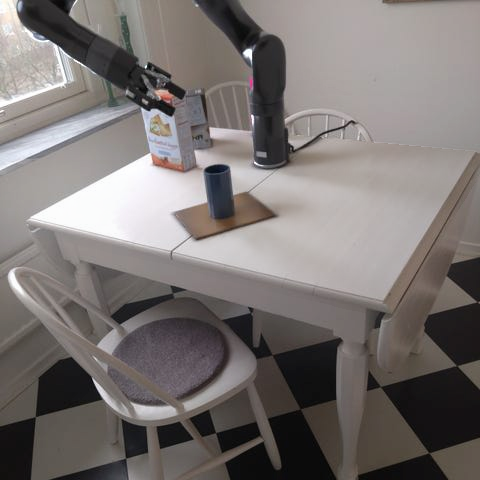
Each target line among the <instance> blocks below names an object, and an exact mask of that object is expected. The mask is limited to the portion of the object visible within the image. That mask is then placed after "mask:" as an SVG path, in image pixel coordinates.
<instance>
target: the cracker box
mask: <svg viewBox="0 0 480 480" xmlns="http://www.w3.org/2000/svg"><path fill="white" fill-rule="evenodd" d="M155 93H156V95H157V96H158V97H159V98H160V99H162V100H164V101H165V102H167V103H169V104H170V105H172V106H174V107H175V108H176V110H175V112H174V114H173V116H172V117H170V116H168V115H166V114H165V113H163V112H161V111H159V110H158V109H151V111H150V112H149V111H146V110H145V109H143V108H142V107H140V110H141V115H142V118H143V124H144V128H145V133H146V138H147V143H148V147H149V151H150V157H151V162H152V164H153V165H157V166H160V167H165V168H168V169H171V170H175V171H179V172H182V173H183V172H187V171H189V170H191V169H192V168H194V167H196V166H198V165H197V159H196V158H197V157H196V152H195V149H194V145H193V138H192V132H191V126H190V119H189V113H188V106H187V100H186V94H185V96H184V98H183V100H180V99H179V98H177V97H175V96H174V95H172V94H170V93H169V92H168V91H166V90H161V89H160V90H158V91H156V90H155ZM152 99H153V98H152ZM142 102H143V103H145V102H144V101H143V100H142ZM145 104H146V105H147V103H145Z"/></svg>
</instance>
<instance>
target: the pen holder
mask: <svg viewBox="0 0 480 480" xmlns="http://www.w3.org/2000/svg"><path fill="white" fill-rule="evenodd" d="M231 171H232V169H231V166H230V165H229V164H226V163H215V164H211V165H208V166H206V167H205V168H203V169H202V173H203V181H204V188H205V194H206V201H207V202H206V203H208V209H209V214H210V217H212V218H214V219H225V218H229V217H231V216H233V215H234V213H235V207H234V198H233V195H234V190H233V189H234V188H233V181H232V172H231Z"/></svg>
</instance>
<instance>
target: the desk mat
mask: <svg viewBox="0 0 480 480" xmlns="http://www.w3.org/2000/svg"><path fill="white" fill-rule="evenodd" d="M233 198H234V207H235V213H234V215H233V216H231V217H229V218H225V219H214V218H212V217H210V214H209V209H208V202H204V203H200V204H197V205H194V206H190V207H187V208H183V209H180V210H175V211H173V215H174V216H175V217H176V218H177V220H178V221H179V222H180V223H181V225H183V226H184V227H185V229H186V230H187V231H188V232H189V233H190V235H191V236H192V237H193V238H194V239H195V240H196V241H198V240H201V239H204V238H207V237H208V238H209V237H210V236H214V235H217V234H221V233H223V232H224V233H225V232H227V231H231V230H234V229H237V228H241V227H243V226H247V225H252V224H255V223H257V222H261V221H264V220H268V219H270V218H273V217H275V216H276V214H275V213H274V212H272V211H271V210H270V209H269V208H267V207H266V206H265V205H264V204H262V203H261V202H260V201H258V200H257V199H256V198H255V197H254V196H252V195H250V194H249V193H248V192H247V191H244V192H240V193H236V194H233Z"/></svg>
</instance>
